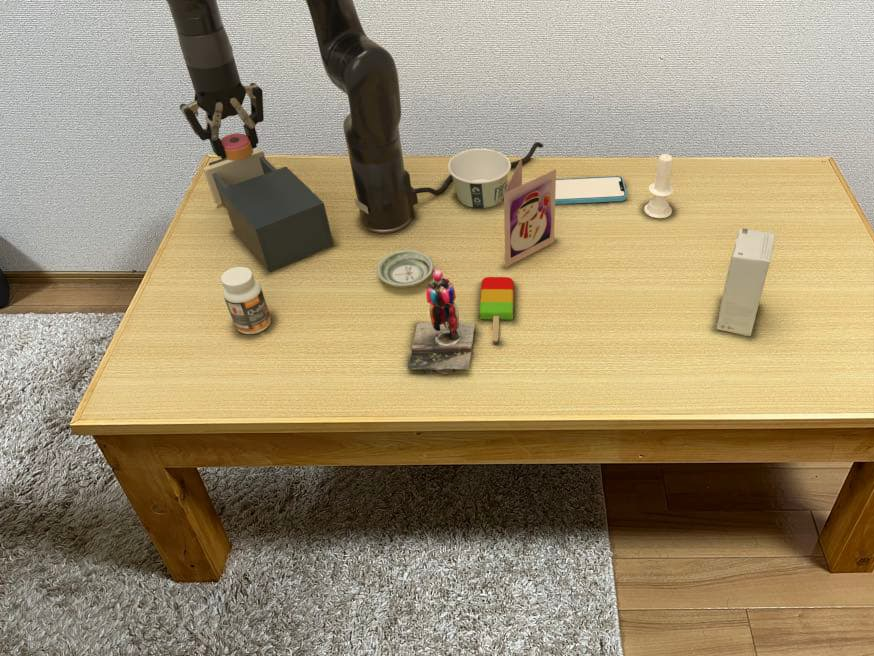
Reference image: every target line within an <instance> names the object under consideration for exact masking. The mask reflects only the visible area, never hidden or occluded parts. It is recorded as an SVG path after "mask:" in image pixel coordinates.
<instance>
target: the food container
mask: <svg viewBox="0 0 874 656" xmlns="http://www.w3.org/2000/svg"><path fill="white" fill-rule="evenodd" d="M511 169H512V167H511V161H510V159H509V158H508V156H506V155H505V153H502V152H500V151H497V150H494V149H490V148H470V149H467V150H463V151H460V152H458V153H456V154H455V155H453V156H452V157H451V158H450V159H449V161H448V163H447V170H448V173H449V175H452V178H453V180H452V181H453V186H454V189H455V193H456V196H457V199H458V200H459V202H460V203H461V204H463V205H464V206H466V207H469V208H475V209H486V208H490V207H494V206H496V205H498V204H499V203H501V202H502V201H503V200H504V192H505V190H506V188H507V181H508V175H509V173H510V171H511Z"/></svg>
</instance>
